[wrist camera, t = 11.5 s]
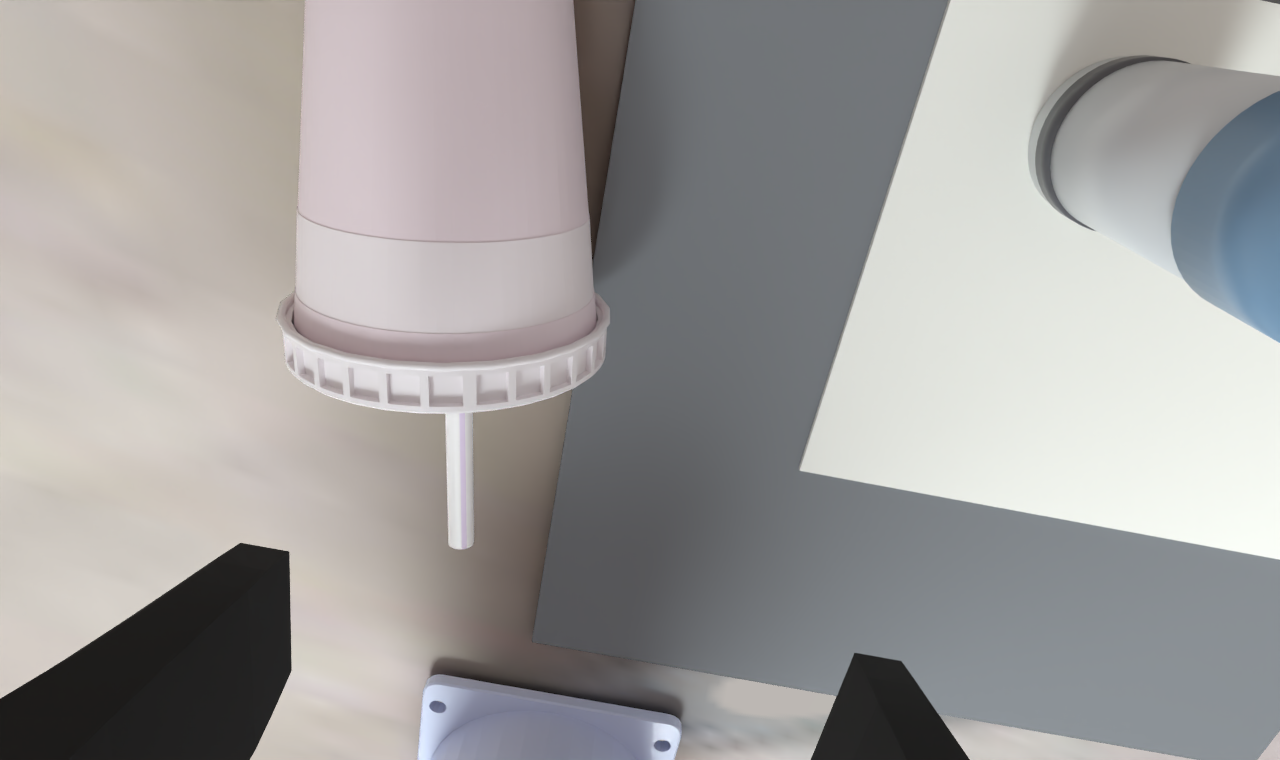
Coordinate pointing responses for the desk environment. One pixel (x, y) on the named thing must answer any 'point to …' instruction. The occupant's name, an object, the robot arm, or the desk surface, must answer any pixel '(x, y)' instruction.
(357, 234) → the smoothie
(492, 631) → the desk surface
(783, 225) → the desk mat
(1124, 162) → the marker
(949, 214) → the paper
